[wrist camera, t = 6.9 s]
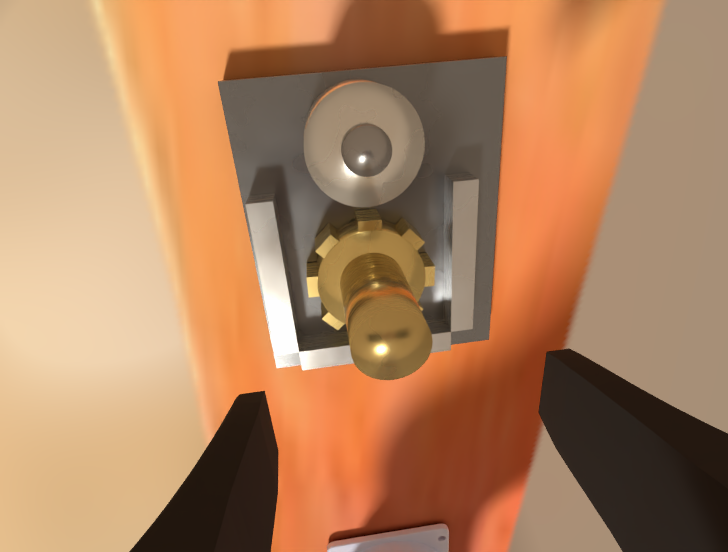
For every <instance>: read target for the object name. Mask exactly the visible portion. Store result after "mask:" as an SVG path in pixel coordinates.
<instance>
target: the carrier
mask: <svg viewBox="0 0 728 552" xmlns="http://www.w3.org/2000/svg"><path fill="white" fill-rule="evenodd" d="M506 59H507V56H504V57H487V58H475V59H464V60H452V61H441V62H429V63H418V64H406V65H394V66H383V67H371V68H360V69H348V70H337V71H325V72H314V73H302V74H290V75H279V76H267V77H256V78H244V79H233V80H222V81H218V86H219V90H220V95H221V100H222V105H223V110H224V115H225V120H226V124H227V129H228V134H229V139H230V144H231V149H232V154H233V158H234V163H235V168H236V173H237V178H238V183H239V187H240V192H241V197H242V202H243V207H244V212H245V217H246V221H247V226H248V231H249V236H250V241H251V246H252V251H253V255H254V260H255V265H256V270H257V275H258V280H259V285H260V289H261V294H262V299H263V304H264V309H265V314H266V319H267V323H268V328H269V333H270V338H271V343H272V348H273V352H274V357H275V362H276V367H277V368H282V367H289V366H297V365H301V366H302V370H308V369H316V368H323V367H330V366H338V365H345V364H352V363H354V362H353V360H352V357H351V351H350V345H349V338H348V332H347V326H346V324H344V325H343V326H342V327H341V328H340V329H339V330H337V329H335V328H334V327H332V326H331V325H330V324H328V323H327V322H325V321H324V320H322V315H321V302H322V301H321V299H320V296H319V297H309V295H308V286H307V266H306V263H313V262H317V259H318V255H319V254H318V253H316V252H315V238H316V236H317V235H318V234H319V233H320V232H321V231H322V230H323V229H324V228H325V226H326V225H327V224H328V223H330V224H331V225H332V226H333V227H335V228H336V229H338V228H339V227H341V226H343V225H345V224H347V223H349V222H352V221H355V212H354V210H368V209H377V211H378V213H379V215H380V217H381V220H384V221H387V222H390V223H392V224H394V225H395V224H396V223H397V222H398V221H399V220H400V219H401V218H402V217H403V218H404V219H405V220H406V221H407V222H408V223H409V224H410V225H412V226H413V227H414V228H415V229H416V230H417V231H418V233H419V234H420V236H421V237H422V239H423V240H424V242H425V243H424V244H423V245H422V246H421V247H420V248H419V249H418V250H417V251H418V253H427V254H428V256H429V257H430V259H431V261H432V262H433V264H434V265H435V283H434V286H428V287H424V290H423V292H422V295H421V297H420V299H419V301H420V303H421V305H422V307H423V310H422V311H421V312H422V314H423V316H424V318H425V320H426V322H427V324H428V327H429V329H430V331H431V334H432V341H433V343H432V349H431V352H430V353H433V352H441V351H448V350H451V345H452V344H460V343H467V342H474V341H482V340H489V330H490V314H491V298H492V282H493V266H494V250H495V234H496V218H497V203H498V187H499V171H500V155H501V139H502V123H503V107H504V91H505V75H506Z"/></svg>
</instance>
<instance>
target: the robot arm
mask: <svg viewBox="0 0 728 552" xmlns="http://www.w3.org/2000/svg"><path fill="white" fill-rule="evenodd" d="M539 414H540V416H541V419H542V421H543V423H544V425H545V427H546V429H547V431H548V433H549V435H550V437H551V439H552V441H553V443H554V445H555V447H556V449H557V450H558V452H559V454H560V455H561V457H562V458H563V460H564V461H565V463H566V465H567V466H568V468H569V469H570V471H571V472H572V474H573V475H574V477H575V478H576V480H577V481H578V483H579V485H580V486H581V487H582V489H583V491H584V492H585V493H586V495H587V497H588V498H589V500H590V501H591V503H592V504H593V506H594V507H595V509H596V510H597V512H598V513H599V515H600V516H601V518H602V519H603V521H604V522H605V524H606V525H607V527H608V528H609V530H610V531H611V533H612V535H613V536H614V538H615V540H616V541H617V543H618V545H619V546H620V548H621V550H622V551H623V552H728V434H727V433H725V432H723V431H721V430H719V429H717V428H715V427H713V426H711V425H709V424H707V423H705V422H702V421H701V420H699V419H697V418H695V417H693V416H690V415H689V414H687V413H685V412H683V411H681V410H679V409H677V408H675V407H673V406H671V405H669V404H667V403H666V402H664V401H662V400H660V399H658V398H656V397H654V396H653V395H651V394H649V393H647V392H646V391H644V390H642V389H640V388H638V387H637V386H635V385H633V384H631V383H630V382H628V381H626V380H624V379H623V378H621V377H619V376H618V375H616V374H614V373H612V372H611V371H609V370H607V369H605V368H603V367H602V366H600V365H598V364H596V363H595V362H593V361H591V360H590V359H588V358H586V357H584V356H582V355H581V354H579V353H577V352H575V351H573V350H571V349H564V350H556V351H549V352H547V353H546V360H545V368H544V375H543V383H542V390H541V398H540V405H539ZM277 495H278V448H277V443H276V439H275V434H274V430H273V426H272V421H271V417H270V412H269V408H268V404H267V399H266V395H265V391H261V392H253V393H246V394H240V395H239V396H238V397H237V398H236V399H235V401H234V403H233V405H232V407H231V408H230V410H229V412H228V414H227V415H226V417H225V419H224V420H223V422H222V424H221V426H220V427H219V429H218V430H217V432H216V434H215V435H214V437H213V439H212V440H211V442H210V443H209V445H208V447H207V448H206V450H205V451H204V453H203V454H202V456H201V457H200V459H199V460H198V462H197V464H196V465H195V467H194V468H193V470H192V471H191V472H190V474H189V475H188V477H187V478H186V480H185V481H184V482H183V484H182V485H181V487H180V488H179V489H178V491H177V492H176V493H175V495H174V496H173V498H172V499H171V500H170V502H169V503H168V504H167V506H166V507H165V508H164V510H163V511H162V512H161V514H160V515H159V516H158V518H157V519H156V520H155V522H154V523H153V524H152V525H151V526H150V528H149V529H148V530H147V531H146V533H145V534H144V535H143V536H142V537H141V539H140V540H139V541H138V542H137V544H136V545H135V546H134V547H133V548H132V549H131V550H130V552H271V544H272V536H273V528H274V520H275V512H276V503H277ZM327 552H449V530H448V527H447V525H446V524H435V525H429V526H423V527H417V528H411V529H405V530H398V531H392V532H386V533H380V534H374V535H368V536H362V537H356V538H350V539H344V540H338V541H333V542H330V543H329V544H328V545H327Z"/></svg>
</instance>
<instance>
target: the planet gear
mask: <svg viewBox="0 0 728 552" xmlns="http://www.w3.org/2000/svg"><path fill="white" fill-rule="evenodd" d="M354 212H355V221H352V222H349V223H347V224H345V225H343V226H341V227H339V228H338V229H336V228H335V227H333V226H332V225H331V224H330V223H328V224H327V225H326V226H325V228H324V229H323V230H322V231H321V232H320V233H319V234H318V235H317V236H316V238H315V252H316V253H318V254H319V255H318V259H317V262H313V263H306V266H307V286H308V295H309V297H319V296H320V299H321V301H322V302H321V315H322V320H324V321H325V322H327V323H328V324H330V325H331V326H332V327H334V328H335V329H337V330H339V329H340V328H341V327H342V326H343V325H344V324H346V326H347V332H348V338H349V345H350V351H351V357H352V360H353V362H354V364H355V365H356V367H357V368H358V369H359V370H360V371H361V372H363V373H364V374H366V375H367V376H370V377H372V378H375V379H380V380H394V379H399V378H403V377H405V376H408V375H410V374H412V373H413V372H415V371H416V370H418V369H419V368H420V367H421V366H422V365H423V364H424V363H425V361H426V360H427V359H428V357H429V355H430V352H431V349H432V343H433V341H432V334H431V331H430V329H429V327H428V324H427V322H426V320H425V318H424V316H423V314H422V312H421V311H422V310H423V307H422V305H421V303H420V301H419V299H420V297H421V295H422V292H423V290H424V287H428V286H434V283H435V265H434V264H433V262H432V261H431V259H430V257H429V256H428V254H427V253H418V251H417V250H418V249H419V248H420V247H421V246H422V245H423V244H424V243H425V242H424V240H423V239H422V237H421V236H420V234H419V233H418V231H417V230H416V229H415V228H414V227H413V226H412V225H410V224H409V223H408V222H407V221H406V220H405V219H404V218H403V217H402V218H401V219H400V220H399V221H398V222H397V223H396V224H395V225H394V224H392V223H390V222H387V221H384V220H381V217H380V215H379V213H378V211H377V209H368V210H354Z"/></svg>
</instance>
